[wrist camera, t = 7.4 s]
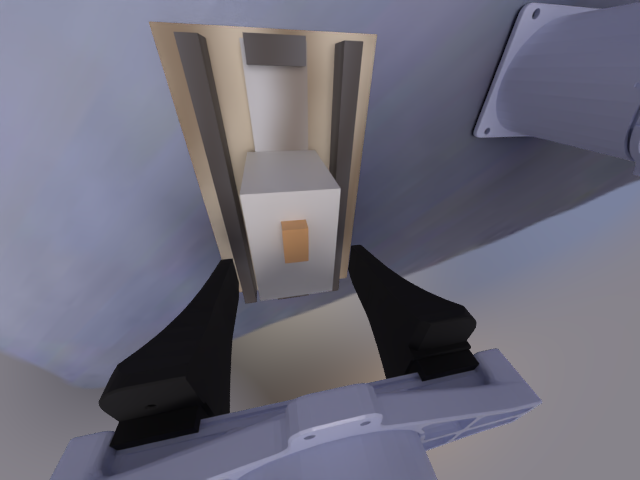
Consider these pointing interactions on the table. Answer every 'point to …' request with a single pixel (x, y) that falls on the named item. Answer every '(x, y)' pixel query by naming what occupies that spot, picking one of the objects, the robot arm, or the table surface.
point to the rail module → (290, 221)
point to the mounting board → (267, 115)
